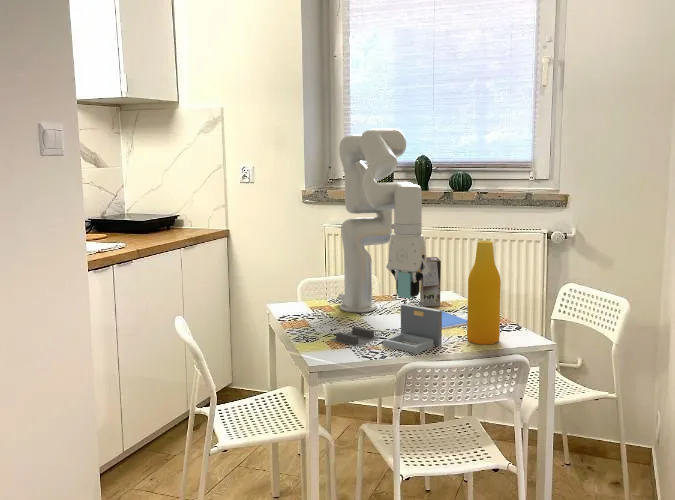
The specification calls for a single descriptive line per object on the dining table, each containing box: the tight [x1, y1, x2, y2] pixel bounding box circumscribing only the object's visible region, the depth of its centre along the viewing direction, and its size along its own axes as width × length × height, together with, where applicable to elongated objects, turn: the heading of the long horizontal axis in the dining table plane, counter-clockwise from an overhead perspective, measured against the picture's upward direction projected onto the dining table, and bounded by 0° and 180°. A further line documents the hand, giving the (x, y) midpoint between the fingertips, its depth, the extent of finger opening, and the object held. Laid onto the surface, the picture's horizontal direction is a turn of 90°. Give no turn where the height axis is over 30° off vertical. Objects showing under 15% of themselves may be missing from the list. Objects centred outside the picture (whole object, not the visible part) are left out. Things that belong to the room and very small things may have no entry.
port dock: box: [382, 303, 443, 355], centre depth 193 cm, size 13×12×10 cm
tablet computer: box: [435, 308, 468, 330], centre depth 221 cm, size 19×13×1 cm, turn 29°
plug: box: [397, 271, 418, 299], centre depth 190 cm, size 4×4×8 cm
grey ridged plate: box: [329, 326, 382, 347], centre depth 200 cm, size 11×11×2 cm
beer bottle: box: [466, 240, 502, 345], centre depth 196 cm, size 9×9×29 cm
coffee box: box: [419, 256, 442, 307], centre depth 241 cm, size 9×6×16 cm
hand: (407, 293), depth 191 cm, fingers closed on plug, 4 cm apart
